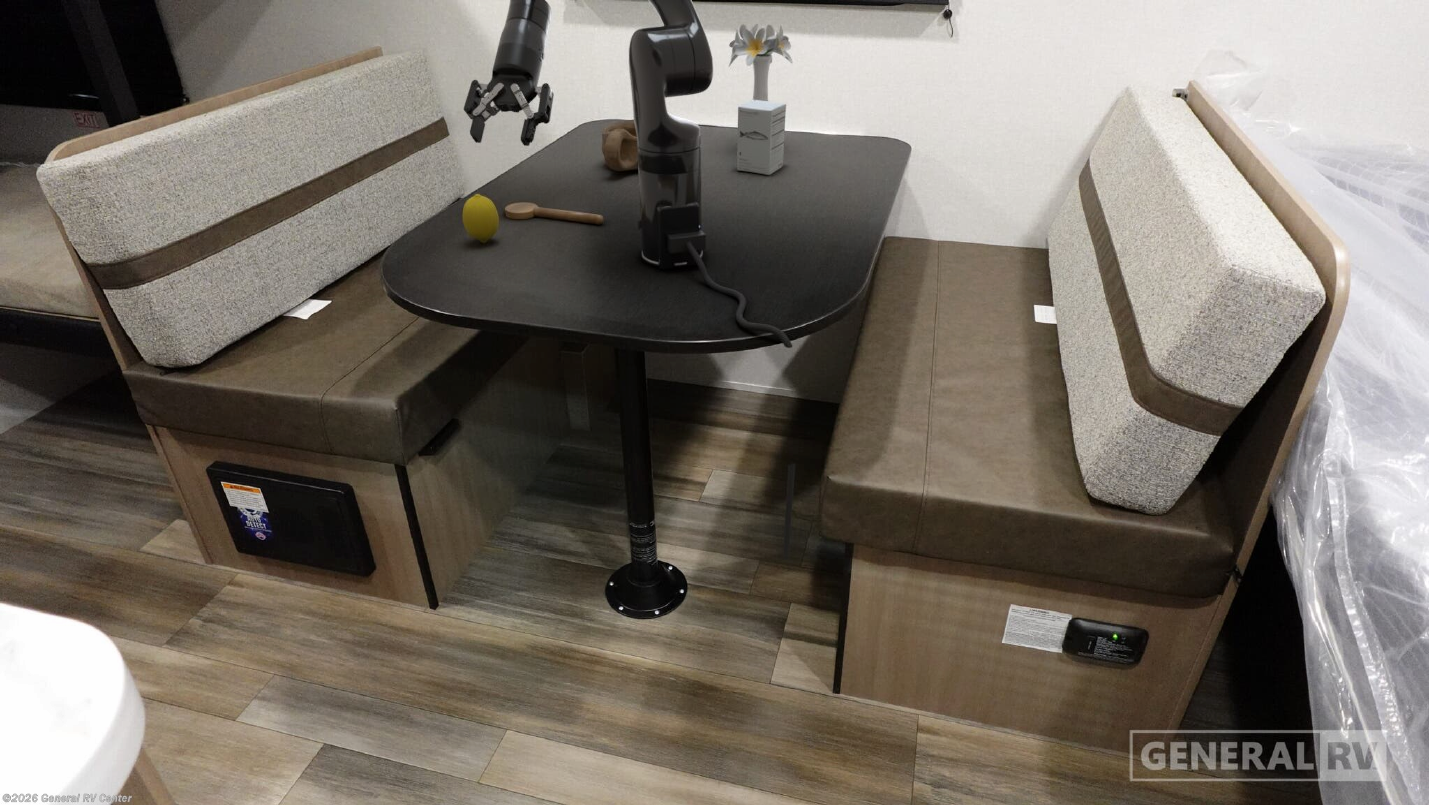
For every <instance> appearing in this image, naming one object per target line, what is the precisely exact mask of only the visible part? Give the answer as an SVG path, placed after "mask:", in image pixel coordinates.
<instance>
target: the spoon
mask: <svg viewBox="0 0 1429 805" xmlns="http://www.w3.org/2000/svg"><path fill="white" fill-rule="evenodd" d="M504 212H505V216H506V217H507V218H509V219H512V220H527V219H531V218H532V219H533V218H535V217H538V218H546V219H554V220H562V221H570V222H577V223H584V224H593V225H601V224H603V223H604V217H603V215H602V214H595V213H588V212H582V211H581V212H580V211H573V210H564V209H556V208H548V207H541V206H538V205H537V204H536V203H533V202H515V203H511V204H508V205H506V207H504Z"/></svg>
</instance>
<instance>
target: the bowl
mask: <svg viewBox="0 0 1429 805" xmlns="http://www.w3.org/2000/svg"><path fill="white" fill-rule="evenodd" d="M601 138H602V139H601V152H602V155H603V157H604V161H605V164H606V165H607V167H608V168H609V169H611V170H613V171H616V172H626V171H633V170H638V149H637V134H636V129H635V123H634V118H633V119H628V120H623V121H620V122H619V121H618V122H615V123H613V124H610V125H607V126H605V127H604V128H603V129H602V131H601Z"/></svg>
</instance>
